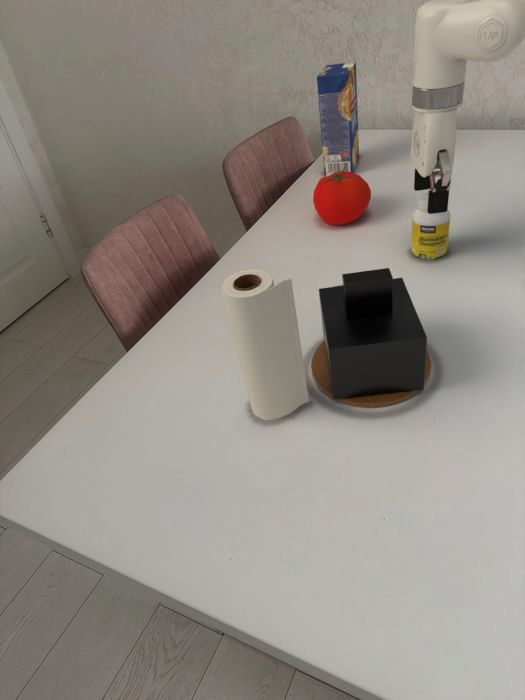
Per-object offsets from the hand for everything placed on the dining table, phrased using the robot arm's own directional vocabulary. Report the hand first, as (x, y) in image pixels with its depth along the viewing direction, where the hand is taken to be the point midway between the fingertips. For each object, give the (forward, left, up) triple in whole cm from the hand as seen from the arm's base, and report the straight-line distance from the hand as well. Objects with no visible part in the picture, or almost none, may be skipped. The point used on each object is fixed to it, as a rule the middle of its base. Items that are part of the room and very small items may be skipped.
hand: (429, 200), depth 88 cm
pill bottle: (0, 0, -11) cm, 11 cm away
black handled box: (+16, +30, -10) cm, 35 cm away
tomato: (+14, -20, -11) cm, 27 cm away
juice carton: (+10, -52, -11) cm, 54 cm away
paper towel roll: (+30, +36, -11) cm, 48 cm away
